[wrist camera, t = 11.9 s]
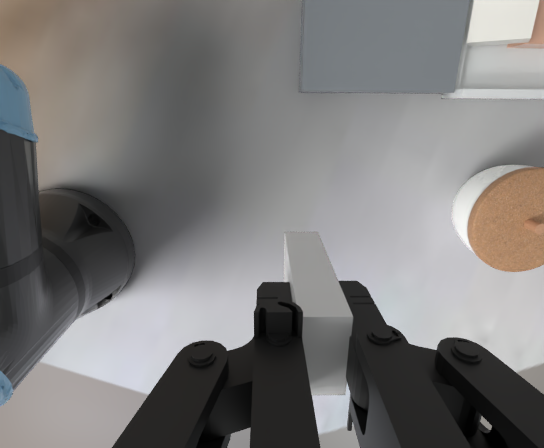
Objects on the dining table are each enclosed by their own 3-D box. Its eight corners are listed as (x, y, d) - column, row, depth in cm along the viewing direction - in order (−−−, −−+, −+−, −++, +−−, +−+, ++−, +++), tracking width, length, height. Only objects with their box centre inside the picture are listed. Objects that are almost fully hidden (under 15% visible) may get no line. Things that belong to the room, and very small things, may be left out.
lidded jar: (419, 192, 40) (463, 217, 31) (504, 137, 38) (576, 146, 29) (459, 259, 43) (510, 299, 34) (540, 211, 41) (615, 240, 32)
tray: (441, 98, 37) (461, 97, 33) (468, -74, 32) (496, -98, 28) (578, 99, 37) (614, 99, 33) (626, -71, 32) (675, -95, 28)
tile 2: (467, 46, 35) (466, 42, 33) (477, -12, 33) (477, -20, 31) (528, 42, 32) (530, 38, 30) (542, -21, 31) (546, -30, 29)
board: (299, 92, 36) (302, 91, 33) (304, -71, 32) (308, -88, 29) (439, 93, 37) (454, 92, 34) (464, -68, 32) (484, -84, 29)
